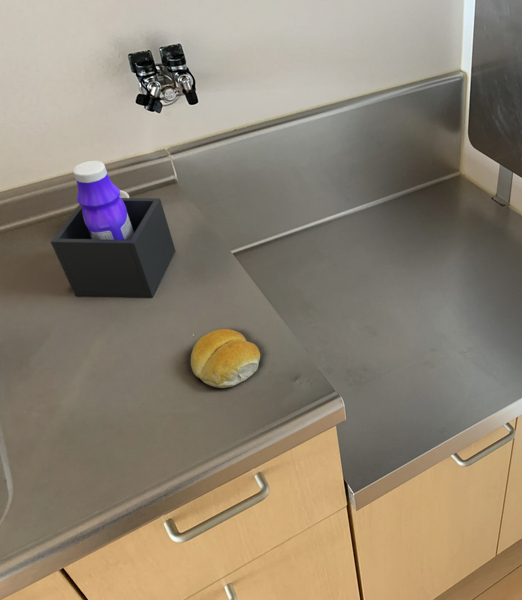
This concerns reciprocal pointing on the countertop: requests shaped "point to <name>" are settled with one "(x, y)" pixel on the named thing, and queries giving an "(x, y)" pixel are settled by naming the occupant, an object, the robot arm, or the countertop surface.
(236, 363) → the bread roll
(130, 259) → the trash bin
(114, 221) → the bottle
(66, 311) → the countertop surface
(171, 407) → the countertop surface
